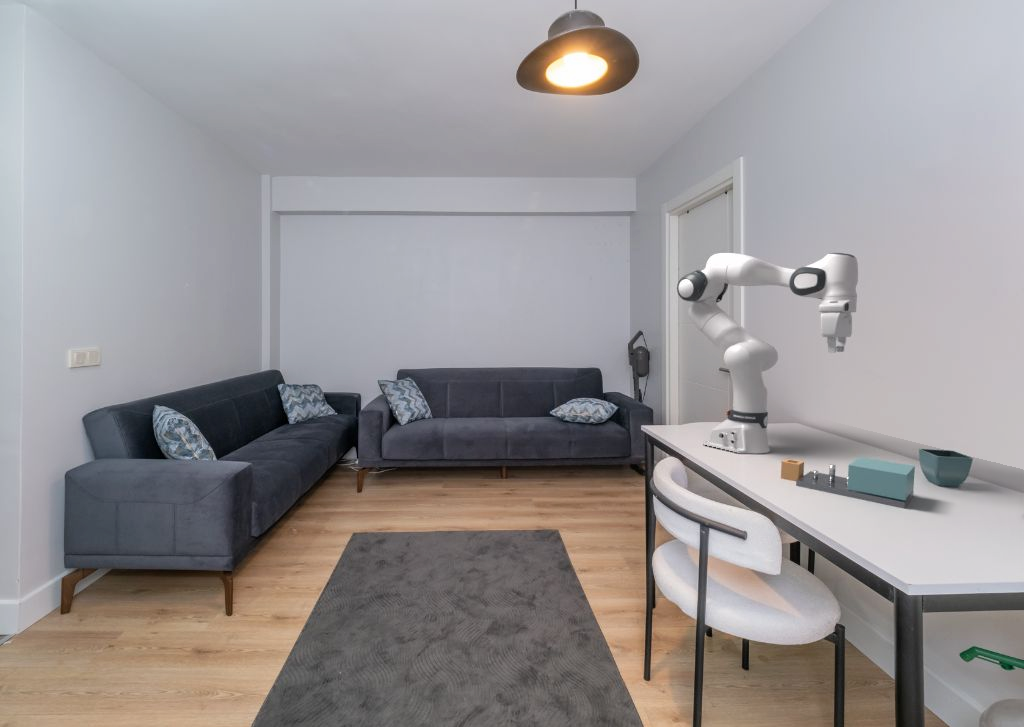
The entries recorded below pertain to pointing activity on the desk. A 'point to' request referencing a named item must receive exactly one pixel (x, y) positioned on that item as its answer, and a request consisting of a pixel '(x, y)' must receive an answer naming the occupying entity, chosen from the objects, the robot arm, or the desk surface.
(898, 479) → the cover
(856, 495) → the housing base
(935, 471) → the flower pot
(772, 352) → the robot arm
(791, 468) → the hollow square tube
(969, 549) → the desk surface
